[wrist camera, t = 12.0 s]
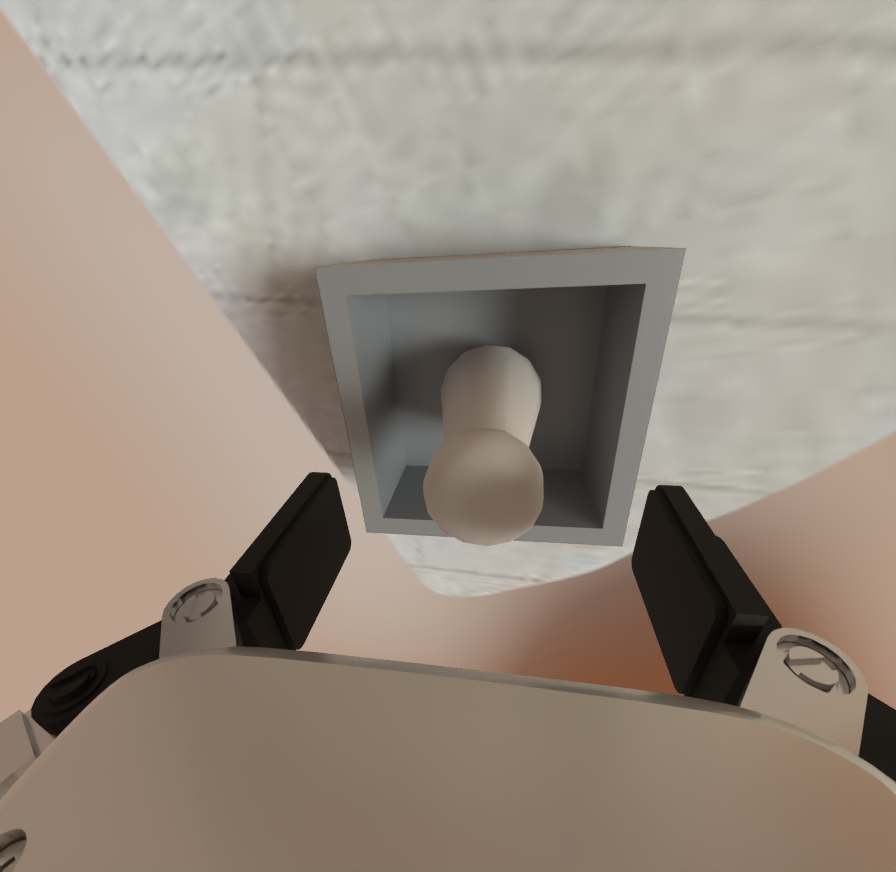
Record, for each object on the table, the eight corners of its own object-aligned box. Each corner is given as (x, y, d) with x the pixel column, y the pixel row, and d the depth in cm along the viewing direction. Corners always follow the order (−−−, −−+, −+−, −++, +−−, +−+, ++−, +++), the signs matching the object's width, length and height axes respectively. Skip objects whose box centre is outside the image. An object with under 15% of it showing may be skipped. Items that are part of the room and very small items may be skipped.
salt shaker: (464, 431, 26) (431, 584, 14) (433, 354, 23) (365, 461, 12) (549, 407, 24) (588, 558, 13) (524, 322, 22) (545, 411, 10)
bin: (367, 260, 22) (314, 267, 16) (631, 246, 20) (686, 248, 14) (395, 471, 29) (366, 532, 23) (595, 477, 27) (622, 546, 21)
